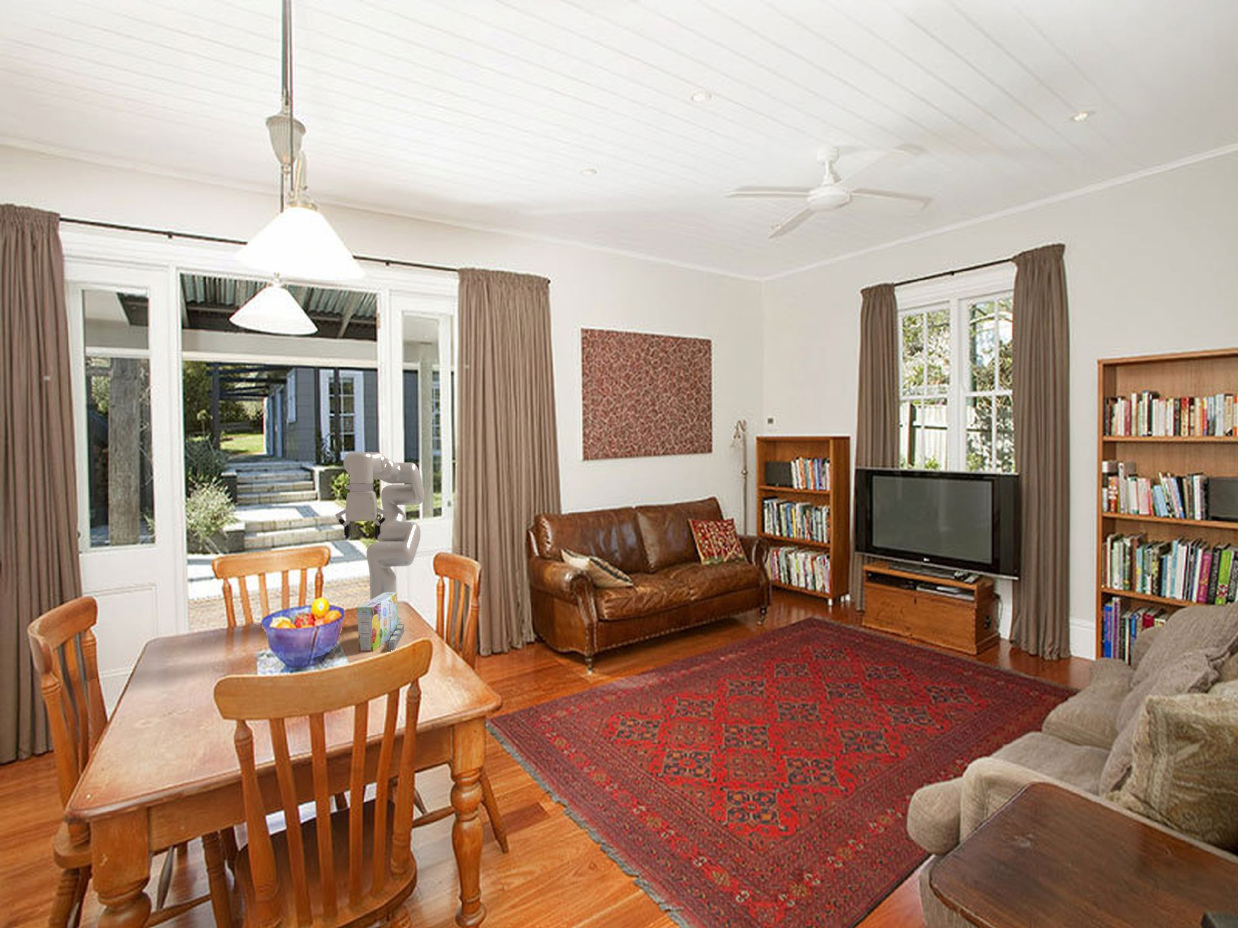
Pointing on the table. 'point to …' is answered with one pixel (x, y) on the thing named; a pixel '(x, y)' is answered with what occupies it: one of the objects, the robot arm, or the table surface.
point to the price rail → (396, 637)
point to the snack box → (377, 621)
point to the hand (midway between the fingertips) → (362, 537)
